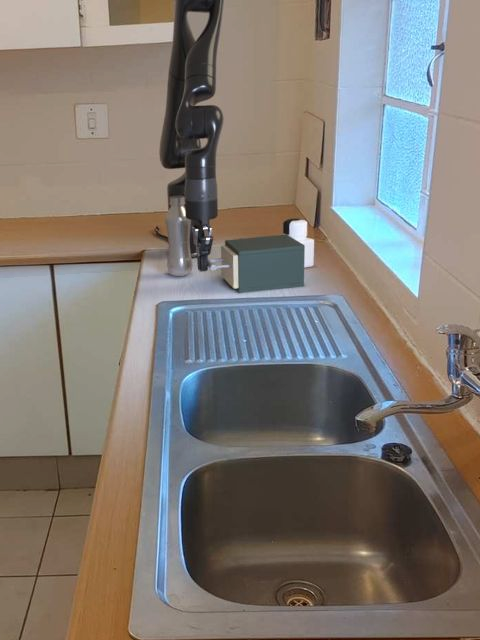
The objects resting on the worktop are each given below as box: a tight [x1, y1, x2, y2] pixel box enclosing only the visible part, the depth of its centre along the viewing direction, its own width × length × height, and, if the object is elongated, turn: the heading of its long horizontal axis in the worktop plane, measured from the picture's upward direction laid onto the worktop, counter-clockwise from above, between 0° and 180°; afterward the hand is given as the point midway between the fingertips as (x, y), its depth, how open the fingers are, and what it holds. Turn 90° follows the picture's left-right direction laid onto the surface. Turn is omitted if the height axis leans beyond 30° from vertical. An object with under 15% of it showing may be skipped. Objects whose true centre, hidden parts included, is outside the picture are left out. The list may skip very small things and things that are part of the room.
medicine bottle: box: [282, 218, 315, 269], centre depth 193 cm, size 7×7×12 cm
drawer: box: [208, 244, 239, 290], centre depth 181 cm, size 20×12×8 cm, turn 99°
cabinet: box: [224, 234, 305, 294], centre depth 181 cm, size 16×13×10 cm
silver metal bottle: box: [164, 196, 194, 277], centre depth 190 cm, size 6×7×20 cm
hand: (202, 270), depth 180 cm, fingers closed
